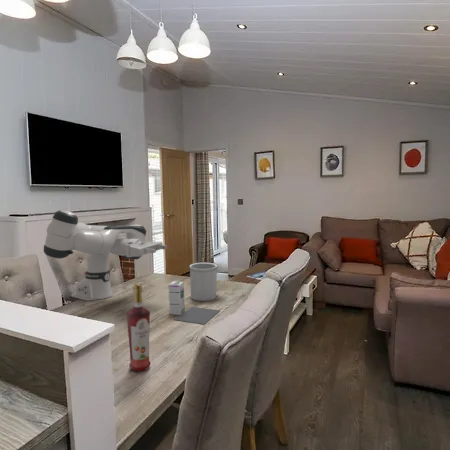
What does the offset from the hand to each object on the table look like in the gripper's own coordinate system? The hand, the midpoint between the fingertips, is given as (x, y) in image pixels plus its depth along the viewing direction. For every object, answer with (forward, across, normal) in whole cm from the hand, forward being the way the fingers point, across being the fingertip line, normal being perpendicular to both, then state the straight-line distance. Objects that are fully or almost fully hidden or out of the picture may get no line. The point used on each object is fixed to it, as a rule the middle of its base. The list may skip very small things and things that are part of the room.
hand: (160, 249), depth 170 cm
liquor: (+25, +53, -29) cm, 65 cm away
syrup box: (+10, +3, -30) cm, 31 cm away
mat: (+21, +3, -30) cm, 36 cm away
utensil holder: (+11, -23, -30) cm, 40 cm away
